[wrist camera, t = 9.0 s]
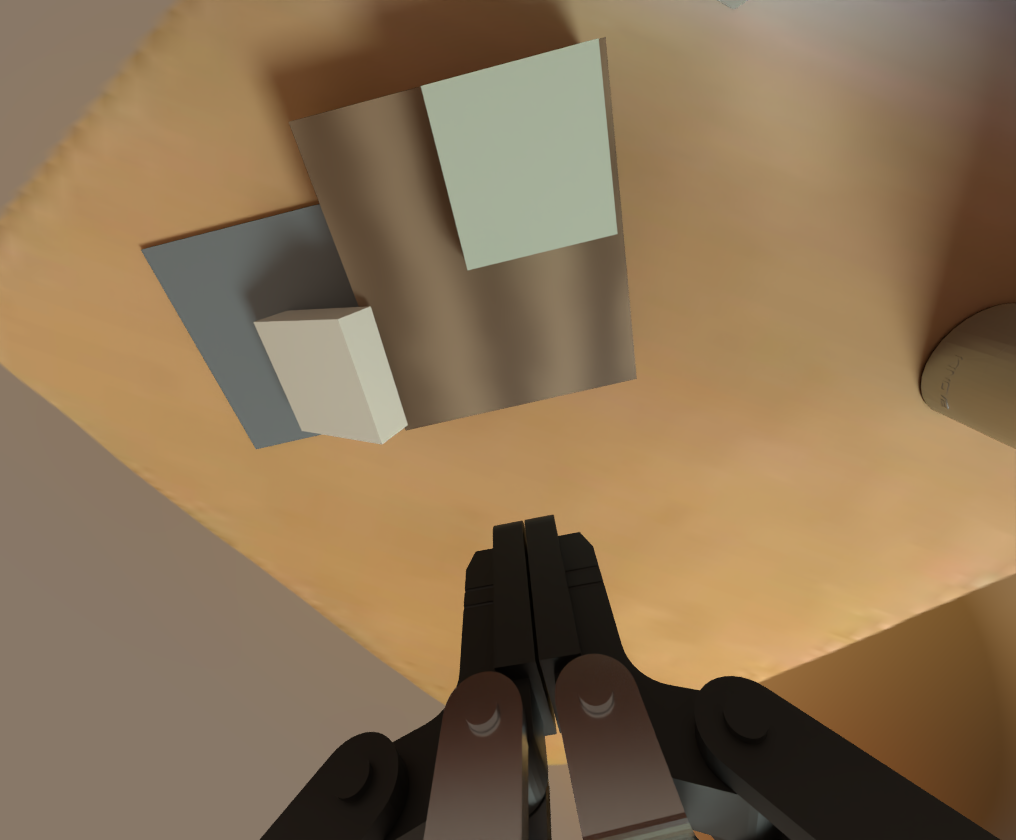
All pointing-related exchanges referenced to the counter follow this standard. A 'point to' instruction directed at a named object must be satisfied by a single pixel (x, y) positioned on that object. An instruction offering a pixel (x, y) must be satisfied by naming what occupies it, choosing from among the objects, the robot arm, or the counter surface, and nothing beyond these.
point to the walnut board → (461, 273)
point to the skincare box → (733, 3)
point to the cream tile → (334, 372)
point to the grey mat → (252, 304)
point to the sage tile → (525, 154)
